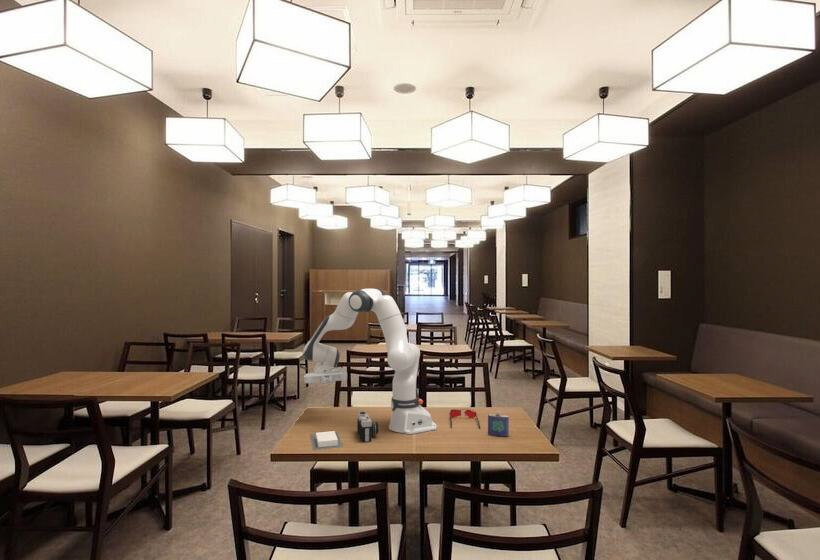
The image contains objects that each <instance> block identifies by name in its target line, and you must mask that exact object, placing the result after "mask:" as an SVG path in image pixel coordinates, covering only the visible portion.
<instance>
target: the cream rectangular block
mask: <svg viewBox="0 0 820 560" xmlns="http://www.w3.org/2000/svg"><path fill="white" fill-rule="evenodd" d="M335 433H336V431H335V430H333V431H332V430H331V431H321V432H315V434H316V441H317V445H318V448H319V447H329V446H338V439H337V436H336V434H335Z"/></svg>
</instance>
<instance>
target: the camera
mask: <svg viewBox="0 0 820 560" xmlns="http://www.w3.org/2000/svg"><path fill="white" fill-rule="evenodd" d="M356 423H357V435H358V436H359V439H360V442H361V443H363V444H364V443H372V439H373V438H372V437H373V436H375V435H377V434H379V423H378V422H377V421H372V419H371V418H370V416H369V414H368V412H367V411H361V412H357V422H356Z"/></svg>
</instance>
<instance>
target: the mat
mask: <svg viewBox="0 0 820 560" xmlns="http://www.w3.org/2000/svg"><path fill="white" fill-rule="evenodd" d="M335 434H336V436H337V439H338V446H329V447H319V448H318V445H317V441H316V433H315V434H309V436H310V441H311V446H312V450H313V451H318V450H327V449H329V450H330V449H338V448H340V449H341V448H344V446H343V443H342V440H341V438H340V436H339V433H338V432H336V431H335Z"/></svg>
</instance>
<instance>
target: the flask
mask: <svg viewBox="0 0 820 560" xmlns="http://www.w3.org/2000/svg"><path fill="white" fill-rule="evenodd" d="M509 421H510V417H509V416H508V415H503V414H502V415H501V411H497V412H496V413H490V414H488V416H487V435H488V436H490V437H499V438H500V437H504V438H508V437H509V436H510V435H509V431H510V429H509V428H510V425H509V423H510V422H509Z"/></svg>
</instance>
